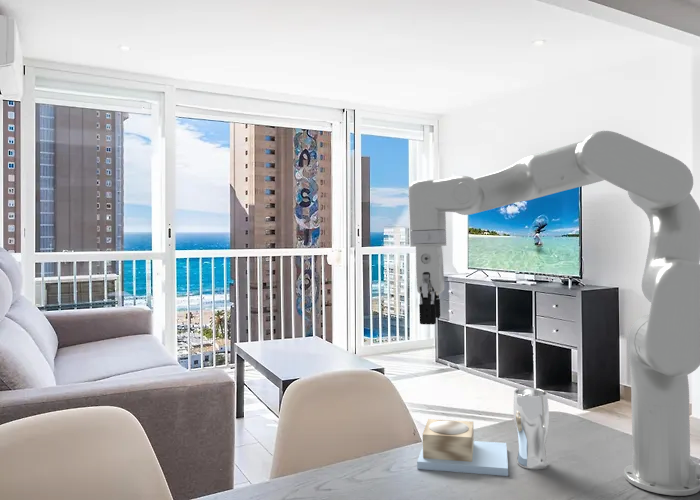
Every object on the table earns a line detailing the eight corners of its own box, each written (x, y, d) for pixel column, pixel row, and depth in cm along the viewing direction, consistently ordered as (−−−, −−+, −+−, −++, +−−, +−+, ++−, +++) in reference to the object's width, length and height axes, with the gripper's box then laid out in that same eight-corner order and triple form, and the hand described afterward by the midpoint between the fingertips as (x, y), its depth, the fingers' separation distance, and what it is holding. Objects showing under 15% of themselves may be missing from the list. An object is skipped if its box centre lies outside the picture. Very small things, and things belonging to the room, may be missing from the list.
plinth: (473, 444, 120) (473, 420, 120) (472, 461, 110) (471, 436, 110) (428, 441, 123) (428, 418, 123) (423, 458, 113) (422, 433, 113)
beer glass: (552, 471, 108) (551, 397, 108) (516, 469, 110) (514, 396, 109) (547, 458, 115) (545, 388, 115) (513, 456, 116) (511, 387, 116)
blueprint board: (506, 449, 120) (506, 442, 120) (508, 476, 107) (508, 468, 107) (425, 444, 125) (425, 437, 125) (417, 468, 111) (417, 461, 111)
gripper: (442, 238, 104) (445, 327, 104) (449, 239, 121) (451, 315, 121) (403, 239, 106) (406, 326, 106) (415, 240, 123) (418, 315, 123)
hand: (430, 320), depth 114 cm, fingers open, 9 cm apart
